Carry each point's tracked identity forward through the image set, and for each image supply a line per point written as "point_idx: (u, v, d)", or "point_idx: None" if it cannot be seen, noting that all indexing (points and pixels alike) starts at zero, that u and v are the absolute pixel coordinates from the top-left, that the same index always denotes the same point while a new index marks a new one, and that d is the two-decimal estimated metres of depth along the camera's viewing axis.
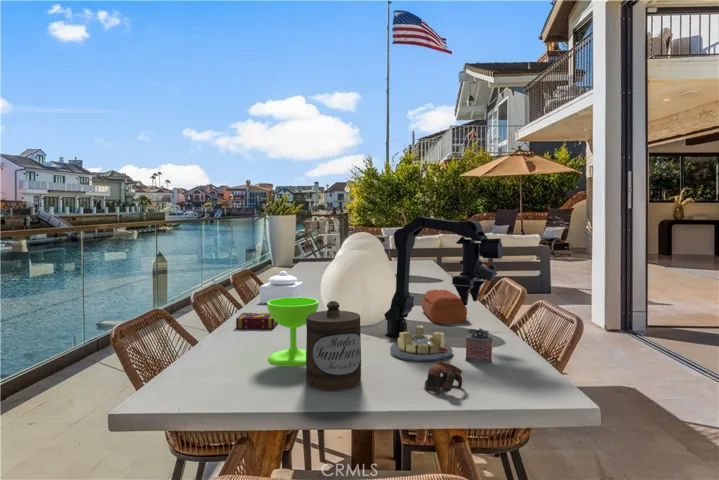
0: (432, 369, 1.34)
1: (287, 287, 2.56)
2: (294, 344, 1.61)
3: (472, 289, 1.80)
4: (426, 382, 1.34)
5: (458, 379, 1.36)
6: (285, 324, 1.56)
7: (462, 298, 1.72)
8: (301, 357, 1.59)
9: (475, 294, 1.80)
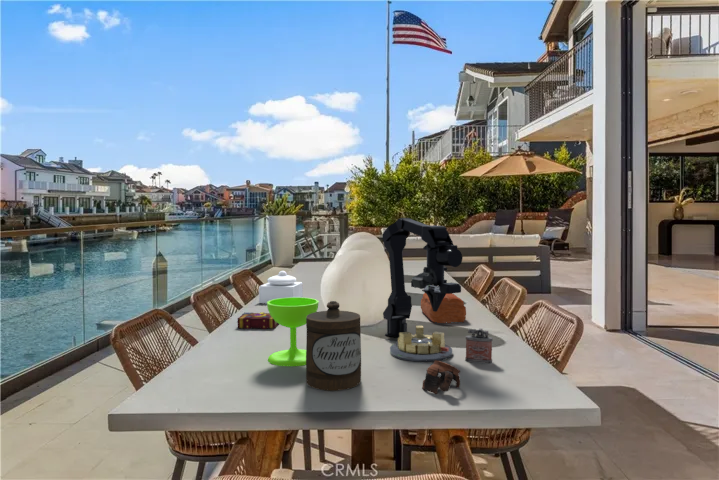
0: (430, 369, 1.34)
1: (286, 287, 2.55)
2: (294, 344, 1.61)
3: None
4: (424, 382, 1.34)
5: (456, 379, 1.36)
6: (285, 324, 1.56)
7: None
8: (301, 357, 1.59)
9: None
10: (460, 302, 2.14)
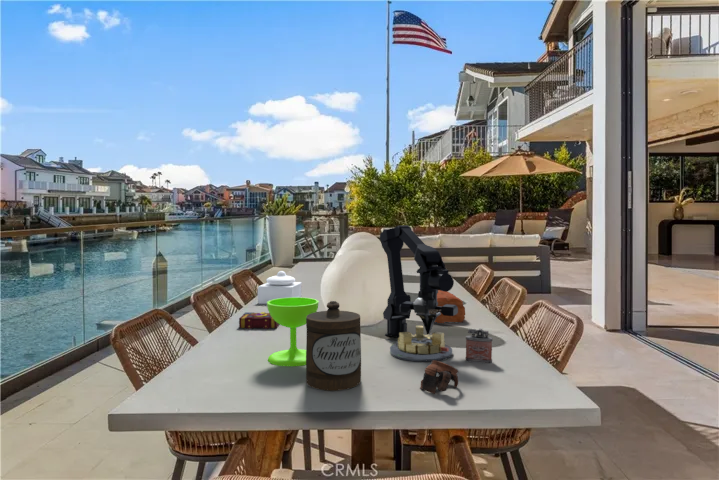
0: (428, 369, 1.34)
1: (285, 287, 2.55)
2: (294, 344, 1.61)
3: None
4: (422, 382, 1.34)
5: (454, 379, 1.37)
6: (285, 324, 1.56)
7: None
8: (301, 357, 1.59)
9: None
10: (459, 302, 2.14)
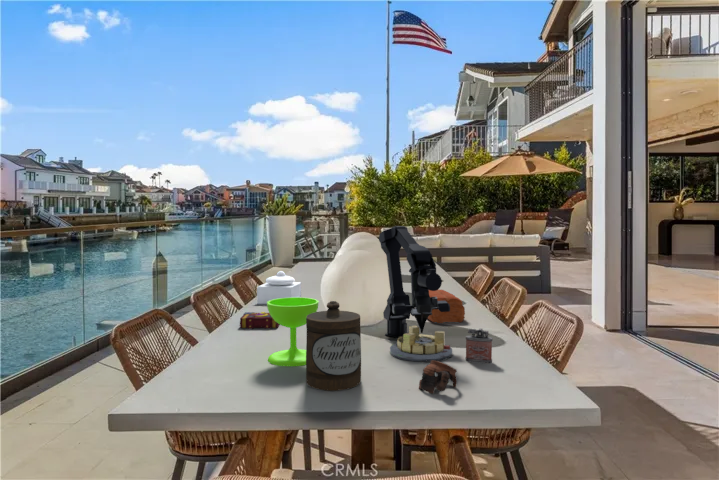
0: (427, 369, 1.34)
1: (285, 287, 2.54)
2: (294, 344, 1.61)
3: None
4: (421, 382, 1.34)
5: (452, 379, 1.37)
6: (285, 324, 1.56)
7: None
8: (301, 357, 1.59)
9: None
10: (459, 302, 2.14)
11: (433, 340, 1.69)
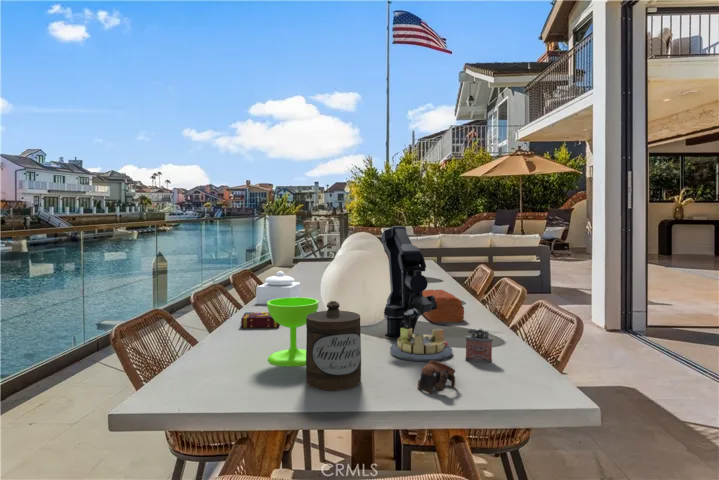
0: (425, 369, 1.34)
1: (284, 288, 2.54)
2: (294, 344, 1.61)
3: None
4: (419, 382, 1.34)
5: (451, 379, 1.37)
6: (285, 324, 1.56)
7: (408, 326, 1.74)
8: (301, 357, 1.59)
9: None
10: (458, 302, 2.15)
11: (428, 338, 1.71)
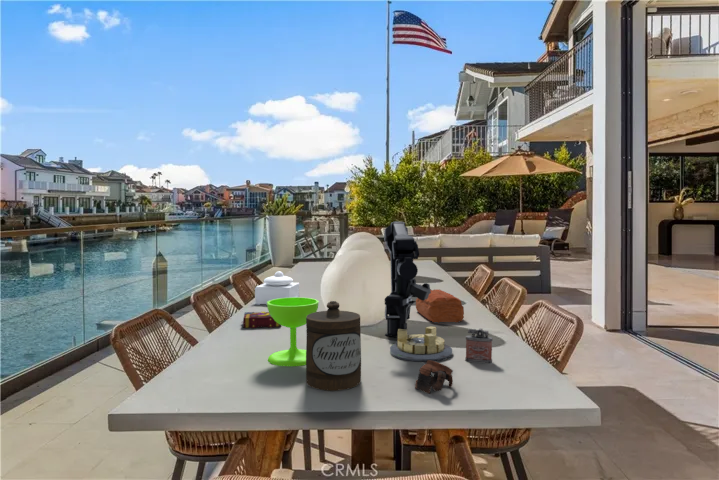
0: (423, 369, 1.34)
1: (283, 288, 2.53)
2: (294, 344, 1.61)
3: None
4: (417, 382, 1.34)
5: (448, 378, 1.37)
6: (285, 324, 1.56)
7: (400, 316, 1.69)
8: (301, 357, 1.59)
9: None
10: (458, 302, 2.15)
11: None
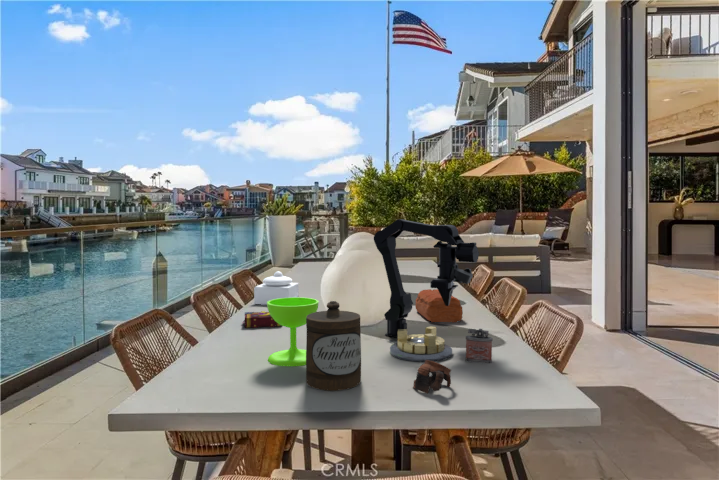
0: (421, 369, 1.34)
1: (282, 288, 2.53)
2: (294, 344, 1.61)
3: None
4: (415, 382, 1.34)
5: (447, 378, 1.37)
6: (285, 324, 1.56)
7: (444, 299, 1.80)
8: (301, 357, 1.59)
9: None
10: (457, 301, 2.15)
11: None
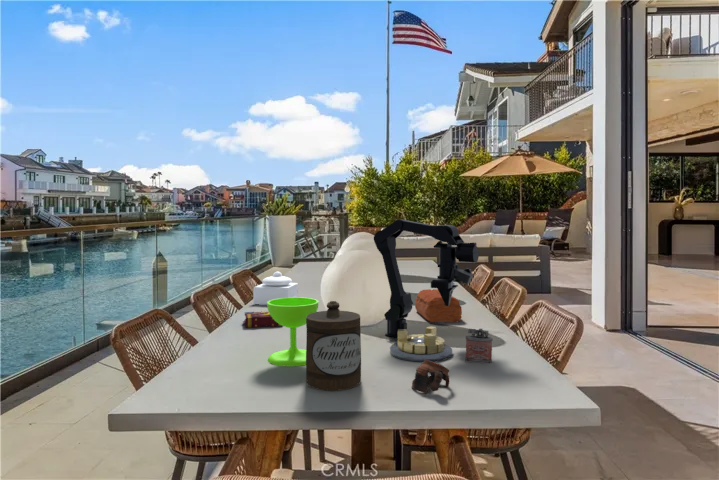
0: (419, 369, 1.34)
1: (281, 288, 2.52)
2: (294, 344, 1.61)
3: None
4: (414, 382, 1.34)
5: (445, 378, 1.37)
6: (285, 324, 1.56)
7: (444, 299, 1.80)
8: (301, 357, 1.59)
9: None
10: (456, 301, 2.15)
11: None
